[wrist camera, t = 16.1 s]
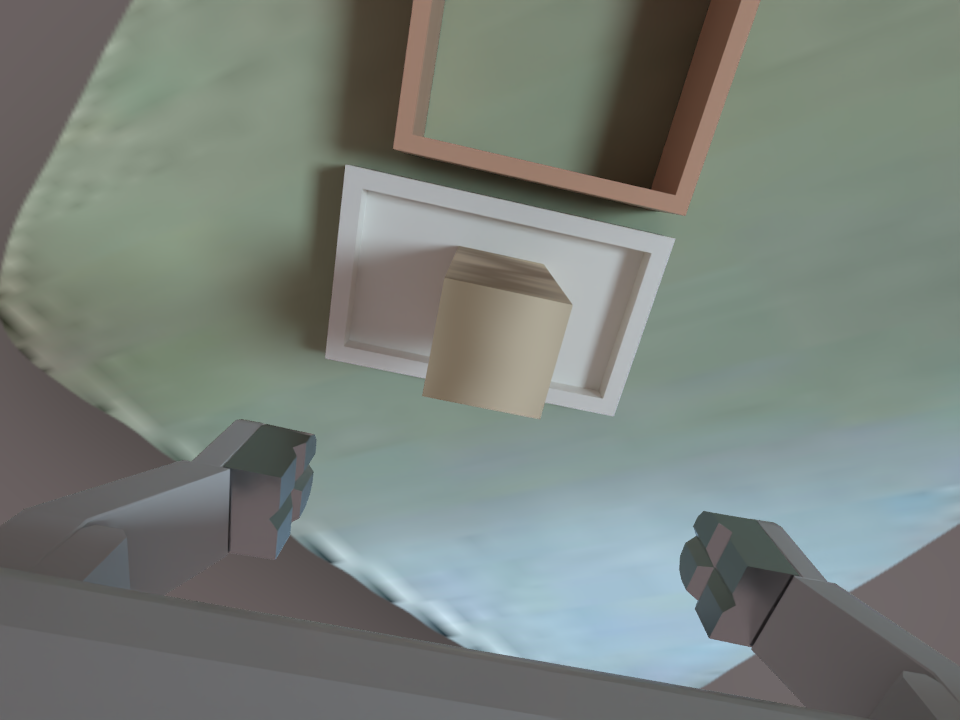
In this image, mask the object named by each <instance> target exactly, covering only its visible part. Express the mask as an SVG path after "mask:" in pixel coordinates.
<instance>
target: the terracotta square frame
mask: <svg viewBox="0 0 960 720" xmlns="http://www.w3.org/2000/svg"><path fill="white" fill-rule="evenodd" d="M759 3H760V0H711V2H710V5H709V8H708V11H707V14H706V17H705V20H704V24H703V27H702V30H701V33H700V36H699V39H698V42H697V46H696V49H695V52H694V55H693V58H692V61H691V64H690V68H689V71H688V74H687V77H686V80H685V83H684V86H683V90H682V93H681V96H680V99H679V102H678V105H677V108H676V112H675V115H674V118H673V121H672V124H671V127H670V130H669V134H668V137H667V140H666V143H665V146H664V149H663V152H662V156H661V159H660V162H659V165H658V168H657V171H656V174H655V178H654V181H653V184H652V187H651V190H650V189H646V188H641V187H637V186H633V185H628V184H624V183H620V182H615V181H611V180H607V179H603V178H598V177H594V176H590V175H585V174H581V173H577V172H572V171H568V170H564V169H559V168H555V167H551V166H546V165H542V164H538V163H533V162H529V161H525V160H520V159H516V158H512V157H507V156H503V155H499V154H494V153H490V152H486V151H481V150H477V149H473V148H468V147H464V146H460V145H456V144H451V143H447V142H443V141H438V140H434V139H430V138H425V137H424V133H425V126H426V120H427V113H428V107H429V100H430V94H431V88H432V81H433V75H434V68H435V62H436V55H437V49H438V43H439V36H440V30H441V23H442V17H443V11H444V4H445V0H413V6H412V14H411V21H410V28H409V36H408V43H407V50H406V58H405V65H404V72H403V80H402V87H401V94H400V102H399V109H398V116H397V124H396V131H395V138H394V146H393V149H395V150H397V151H400V152H403V153H405V154H409V155H413V156H418V157H422V158H427V159H431V160H435V161H440V162H444V163H448V164H453V165H457V166H461V167H466V168H470V169H475V170H479V171H483V172H488V173H492V174H496V175H501V176H505V177H510V178H514V179H518V180H523V181H527V182H531V183H536V184H540V185H545V186H549V187H553V188H558V189H562V190H566V191H571V192H575V193H580V194H584V195H588V196H593V197H597V198H601V199H606V200H610V201H615V202H619V203H623V204H628V205H632V206H636V207H641V208H645V209H650V210H654V211H658V212H665V213H671V214H677V215H684V216H685V215H686V213H687V210H688V207H689V204H690V201H691V198H692V195H693V193H694V190H695V187H696V184H697V181H698V178H699V175H700V172H701V170H702V167H703V164H704V161H705V158H706V155H707V152H708V150H709V147H710V144H711V141H712V138H713V135H714V132H715V129H716V127H717V124H718V121H719V118H720V115H721V112H722V109H723V107H724V104H725V101H726V98H727V95H728V92H729V89H730V86H731V84H732V81H733V78H734V75H735V72H736V69H737V66H738V63H739V61H740V58H741V55H742V52H743V49H744V46H745V43H746V41H747V38H748V35H749V32H750V29H751V26H752V23H753V20H754V18H755V15H756V12H757V9H758V6H759Z"/></svg>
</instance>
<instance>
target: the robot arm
mask: <svg viewBox="0 0 960 720" xmlns="http://www.w3.org/2000/svg"><path fill="white" fill-rule="evenodd" d="M315 453H316V437H315V434H310V433H306V432H301V431H297V430H292V429H287V428H283V427H278V426H273V425H269V424H264V423H260V422H254V421H249V420H244V419H239V420H236V421H234V422H233V423H232V424H231V425H230V426H229V427H228V428H227V429H226V430H225V431H224V432H222V433H221V434H220V435H219V436H218V437H217V438H216V439H215V440H214V441H213V442H212V443H211V444H210V445H209V446H207V447H206V448H205V449H204V450H203V451H202V452H201V453H200V454H199V455H198V456H197V457H196V458H195V459H193V460H192V461H186V460H182V461H178V462H175V463H172V464H169V465H166V466H162V467H159V468H156V469H152V470H149V471H146V472H143V473H139V474H136V475H133V476H130V477H127V478H123V479H120V480H117V481H114V482H111V483H107V484H104V485H101V486H97V487H94V488H91V489H88V490H84V491H81V492H78V493H75V494H72V495H68V496H65V497H62V498H59V499H55V500H52V501H49V502H46V503H42V504H39V505H36V506H33V507H30V508H26V509H24V510H22V511H21V512H20V513H18V514H17V515H15V516H14V517H12V518H11V519H10V520H8V521H7V522H5V523H4V524H2V525H1V526H0V720H960V666H958V665H957V664H955V663H954V662H952V661H951V660H949V659H948V658H946V657H945V656H943V655H942V654H940V653H939V652H937V651H936V650H934V649H933V648H931V647H930V646H928V645H927V644H925V643H924V642H922V641H921V640H919V639H918V638H916V637H915V636H913V635H912V634H910V633H909V632H907V631H906V630H904V629H903V628H901V627H900V626H898V625H897V624H895V623H894V622H892V621H891V620H889V619H888V618H886V617H885V616H883V615H882V614H880V613H879V612H877V611H876V610H874V609H873V608H871V607H870V606H868V605H867V604H865V603H864V602H862V601H861V600H859V599H858V598H856V597H855V596H853V595H852V594H850V593H849V592H847V591H846V590H844V589H843V588H841V587H840V586H838V585H837V584H835V583H830V582H827V581H826V579H825V578H824V577H823V576H822V575H821V573H820V572H819V571H818V570H817V569H816V567H815V566H814V565H813V564H812V563H811V561H810V560H809V559H808V558H807V557H806V556H805V554H804V553H803V552H802V551H801V550H800V548H799V547H798V546H797V545H796V544H795V542H794V541H793V540H792V539H791V538H790V536H789V535H788V534H787V533H786V532H785V531H784V529H783V528H782V527H781V526H779V525H777V524H775V523H774V522H767V521H761V520H755V519H747V518H741V517H735V516H729V515H723V514H718V513H712V512H706V511H703V512H702V513H701V514H700V515H699V516H698V517H697V520H696V522H695V524H694V526H693V527H694V530H695V533H696V536H695V537H694V538H692V539H691V540H689V541H688V542H686V543H685V545H684V548H683V550H682V553H681V555H680V567H679V570H680V575H681V580H682V582H683V584H684V586H685V589H686V590H687V591H688V592H689V593H690V594H691V595H692V596H693V597H694V598H696V599H697V600H698V601H697V604H696V607H695V610H696V612H697V614H698V616H699V618H700V620H701V622H702V625H703V627H704V629H705V631H706V633H707V635H708V637H709V638H710V639H715V640H720V641H725V642H729V643H734V644H739V645H744V646H748V647H752V649H751V650H752V651H753V652H754V653H755V654H756V655H757V656H758V657H759V658H760V659H761V660H762V661H763V662H764V663H765V664H766V665H767V666H768V668H769V669H770V670H771V671H772V672H773V673H774V674H775V675H776V676H777V677H778V678H779V679H780V680H781V681H782V682H783V683H784V684H785V685H786V687H787V688H788V689H789V690H790V691H791V692H793V694H794V695H795V696H796V697H797V698H798V699H799V700H800V701H801V702H802V703H803V705H804V706H806V707H799V706H793V705H788V704H783V703H777V702H771V701H766V700H760V699H754V698H749V697H743V696H737V695H731V694H725V693H720V692H714V691H708V690H702V689H697V688H692V687H686V686H680V685H674V684H669V683H663V682H657V681H652V680H646V679H640V678H635V677H629V676H623V675H617V674H612V673H606V672H600V671H594V670H588V669H583V668H577V667H571V666H565V665H559V664H554V663H548V662H542V661H536V660H530V659H525V658H519V657H513V656H507V655H502V654H496V653H490V652H484V651H478V650H473V649H467V648H461V647H455V646H450V645H444V644H438V643H432V642H427V641H421V640H415V639H410V638H404V637H398V636H392V635H387V634H381V633H375V632H369V631H363V630H358V629H352V628H346V627H340V626H335V625H329V624H323V623H318V622H312V621H307V620H301V619H295V618H289V617H283V616H278V615H272V614H266V613H261V612H255V611H249V610H244V609H238V608H232V607H226V606H221V605H215V604H209V603H204V602H198V601H192V600H186V599H181V598H175V597H169V596H164V595H166V594H167V593H169V592H170V591H172V590H174V589H175V588H177V587H178V586H180V585H182V584H183V583H185V582H186V581H188V580H189V579H191V578H193V577H194V576H196V575H197V574H199V573H200V572H202V571H204V570H205V569H207V568H208V567H210V566H211V565H213V564H215V563H216V562H218V561H219V560H221V559H223V558H224V557H226V556H227V555H228V553H234V554H239V555H246V556H253V557H259V558H266V559H272V560H276V558H277V556H278V554H279V553H280V551H281V549H282V547H283V546H284V544H285V542H286V540H287V539H288V537H289V535H290V531H291V522H293V521H295V520H297V519H299V518H300V516H301V514H302V512H303V510H304V509H305V506H306V503H307V501H308V498H309V495H310V491H311V487H312V482H313V473H314V472H313V470H312V469H311V467H310V465H309V463H310V461H311V460H312V458H313V457H314V455H315Z"/></svg>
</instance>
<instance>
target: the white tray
mask: <svg viewBox="0 0 960 720" xmlns="http://www.w3.org/2000/svg"><path fill="white" fill-rule="evenodd" d="M674 241H675V239H674V238H671V237H667V236H664V235H660V234H655V233H651V232H646V231H642V230H638V229H633V228H629V227H624V226H620V225H615V224H611V223H607V222H602V221H598V220H593V219H589V218H584V217H580V216H576V215H571V214H567V213H562V212H558V211H553V210H549V209H544V208H540V207H536V206H531V205H527V204H522V203H518V202H513V201H509V200H505V199H500V198H496V197H491V196H487V195H482V194H478V193H474V192H469V191H465V190H460V189H456V188H451V187H447V186H443V185H438V184H434V183H429V182H425V181H420V180H416V179H412V178H407V177H403V176H398V175H394V174H389V173H385V172H381V171H376V170H372V169H367V168H363V167H358V166H353V165H345V174H344V184H343V193H342V203H341V212H340V222H339V231H338V241H337V250H336V260H335V269H334V279H333V288H332V298H331V307H330V317H329V326H328V336H327V345H326V354H325V358H326V359H331V360H335V361H340V362H345V363H350V364H355V365H360V366H365V367H370V368H375V369H380V370H385V371H390V372H395V373H400V374H405V375H410V376H415V377H420V378H425V379H426V373H427V368H428V363H429V357H430V352H431V346H432V341H433V336H434V330H435V325H436V320H437V314H438V309H439V304H440V298H441V293H442V288H443V282H444V277H445V275H446V273H447V271H448V269H449V266H450V264H451V262H452V260H453V258H454V255H455V253H456V251H457V249H458V247H459V246H463V247H468V248H473V249H477V250H482V251H486V252H491V253H495V254H500V255H505V256H509V257H514V258H518V259H523V260H528V261H532V262H537V263H541V264H544V265H545V267H546V268H547V269H548V271H549V272H550V274H551V275H552V276H553V278H554V279H555V281H556V282H557V284H558V285H559V286H560V288H561V289H562V291H563V292H564V293H565V295H566V296H567V298H568V299H569V300H570V302H571V303H572V305H573V306H572V310H571V313H570V317H569V320H568V324H567V327H566V331H565V334H564V338H563V341H562V345H561V348H560V352H559V355H558V358H557V362H556V365H555V369H554V372H553V376H552V379H551V383H550V386H549V390H548V393H547V397H546V400H545V403H550V404H555V405H560V406H565V407H570V408H575V409H580V410H585V411H590V412H595V413H600V414H605V415H610V416H614V414H615V411H616V408H617V405H618V403H619V400H620V397H621V394H622V391H623V388H624V385H625V382H626V380H627V377H628V374H629V371H630V368H631V365H632V362H633V359H634V356H635V354H636V351H637V348H638V345H639V342H640V339H641V336H642V333H643V331H644V328H645V325H646V322H647V319H648V316H649V313H650V310H651V308H652V305H653V302H654V299H655V296H656V293H657V290H658V287H659V285H660V282H661V279H662V276H663V273H664V270H665V267H666V264H667V261H668V259H669V256H670V253H671V250H672V247H673V244H674Z"/></svg>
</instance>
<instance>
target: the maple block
mask: <svg viewBox="0 0 960 720" xmlns="http://www.w3.org/2000/svg"><path fill="white" fill-rule="evenodd" d="M572 306H573V305H572V303H571V302H570V300H569V299H568V298H567V296H566V295H565V293H564V292H563V291H562V289H561V288H560V286H559V285H558V284H557V282H556V281H555V279H554V278H553V276H552V275H551V274H550V272H549V271H548V269H547V268H546V267H545V265H544V264H541V263H537V262H532V261H528V260H523V259H518V258H514V257H509V256H505V255H500V254H495V253H491V252H486V251H482V250H477V249H473V248H468V247H463V246H459V247H458V249H457V251H456V253H455V255H454V258H453V260H452V262H451V264H450V266H449V269H448V271H447V273H446V275H445V277H444V282H443V288H442V293H441V298H440V304H439V309H438V314H437V320H436V325H435V330H434V336H433V341H432V346H431V352H430V357H429V363H428V368H427V373H426V379H425V384H424V389H423V395H422V396H425V397H430V398H435V399H440V400H445V401H450V402H455V403H460V404H465V405H470V406H475V407H480V408H485V409H490V410H496V411H501V412H506V413H511V414H516V415H521V416H526V417H531V418H536V419H540V418H541V414H542V411H543V407H544V404H545V400H546V397H547V393H548V390H549V386H550V383H551V379H552V376H553V372H554V369H555V365H556V362H557V358H558V355H559V352H560V348H561V345H562V341H563V338H564V334H565V331H566V327H567V324H568V320H569V317H570V313H571V310H572Z"/></svg>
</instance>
